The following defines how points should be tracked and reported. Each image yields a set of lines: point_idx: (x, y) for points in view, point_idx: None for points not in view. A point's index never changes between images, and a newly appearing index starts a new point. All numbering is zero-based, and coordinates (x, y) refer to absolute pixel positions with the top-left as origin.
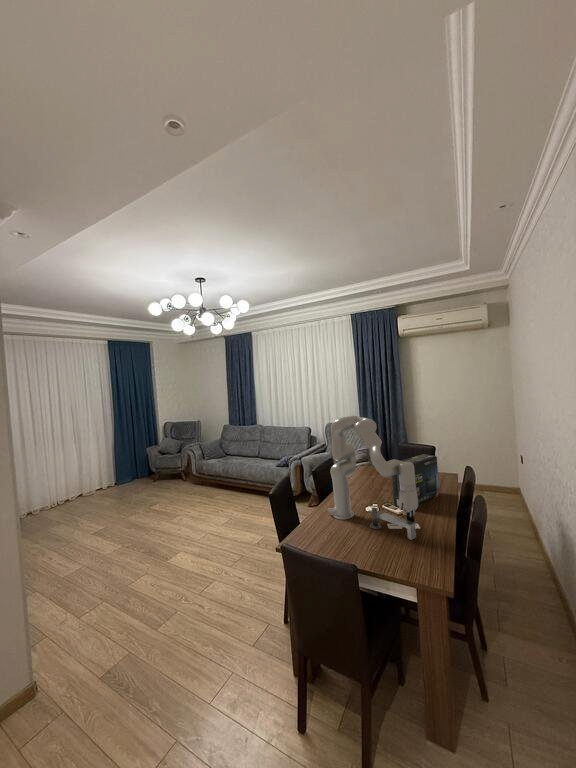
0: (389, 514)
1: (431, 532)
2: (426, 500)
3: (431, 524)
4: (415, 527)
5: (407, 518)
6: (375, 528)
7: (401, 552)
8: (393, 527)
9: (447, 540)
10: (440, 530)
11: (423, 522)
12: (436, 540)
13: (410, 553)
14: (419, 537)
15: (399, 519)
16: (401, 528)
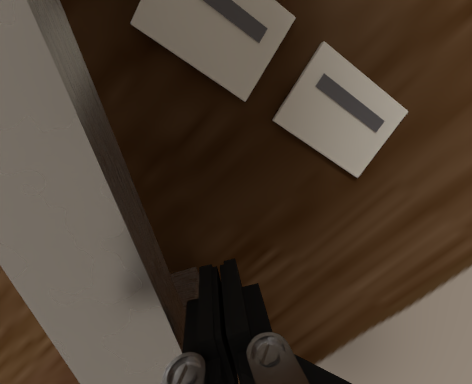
0: (26, 21)
1: (362, 247)
2: None
3: (469, 165)
4: (338, 152)
5: (185, 339)
6: None
7: (16, 341)
8: (183, 40)
9: (344, 341)
10: (424, 252)
11: (465, 107)
12: (300, 321)
13: (64, 364)
14: (248, 260)
15: (85, 278)
16: (237, 96)
